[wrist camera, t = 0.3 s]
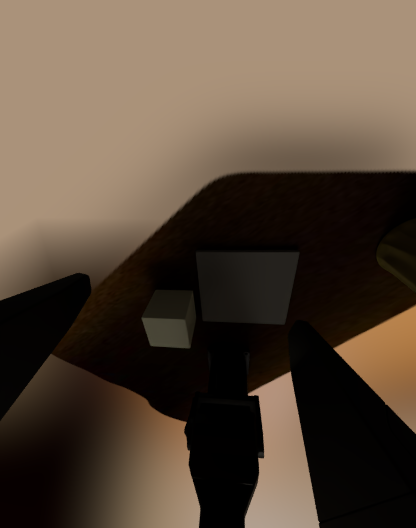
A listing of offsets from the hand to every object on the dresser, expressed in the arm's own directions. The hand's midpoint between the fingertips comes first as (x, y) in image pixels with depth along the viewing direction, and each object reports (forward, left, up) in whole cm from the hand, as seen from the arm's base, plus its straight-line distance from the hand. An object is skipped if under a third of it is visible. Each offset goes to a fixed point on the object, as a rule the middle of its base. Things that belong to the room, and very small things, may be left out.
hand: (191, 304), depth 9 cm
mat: (-10, -3, -14) cm, 17 cm away
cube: (-13, +6, -14) cm, 20 cm away
